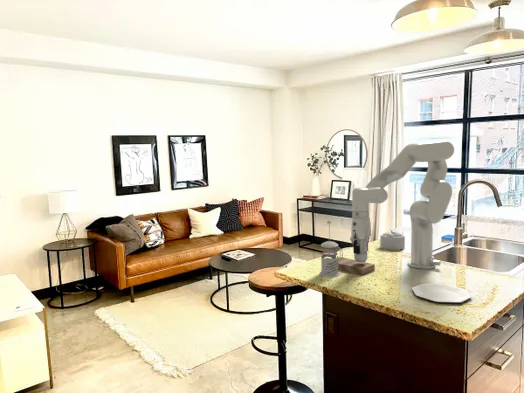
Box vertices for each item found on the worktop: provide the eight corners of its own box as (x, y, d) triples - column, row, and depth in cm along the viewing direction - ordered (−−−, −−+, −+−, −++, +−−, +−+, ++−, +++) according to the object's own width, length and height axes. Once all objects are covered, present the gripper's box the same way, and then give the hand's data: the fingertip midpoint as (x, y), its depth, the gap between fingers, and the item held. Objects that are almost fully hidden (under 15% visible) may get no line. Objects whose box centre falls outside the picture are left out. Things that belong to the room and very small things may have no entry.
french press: (315, 272, 181) (314, 220, 179) (335, 268, 186) (335, 217, 183) (326, 278, 172) (325, 223, 170) (348, 274, 177) (347, 220, 174)
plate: (479, 296, 147) (479, 293, 146) (451, 310, 135) (451, 306, 135) (431, 283, 163) (431, 280, 163) (402, 294, 151) (402, 290, 151)
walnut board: (374, 270, 182) (374, 264, 181) (362, 275, 175) (362, 269, 175) (340, 262, 196) (339, 256, 196) (327, 266, 190) (327, 260, 190)
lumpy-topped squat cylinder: (385, 244, 231) (385, 230, 230) (407, 247, 223) (407, 232, 222) (378, 248, 223) (378, 233, 222) (401, 251, 215) (401, 235, 214)
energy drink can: (366, 259, 185) (366, 228, 183) (367, 262, 179) (367, 230, 177) (354, 258, 186) (353, 228, 184) (354, 262, 180) (354, 230, 178)
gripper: (356, 217, 171) (357, 257, 173) (377, 212, 183) (377, 249, 185) (342, 216, 177) (343, 254, 179) (364, 211, 188) (364, 247, 190)
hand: (360, 251), depth 182 cm, fingers closed on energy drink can, 6 cm apart
